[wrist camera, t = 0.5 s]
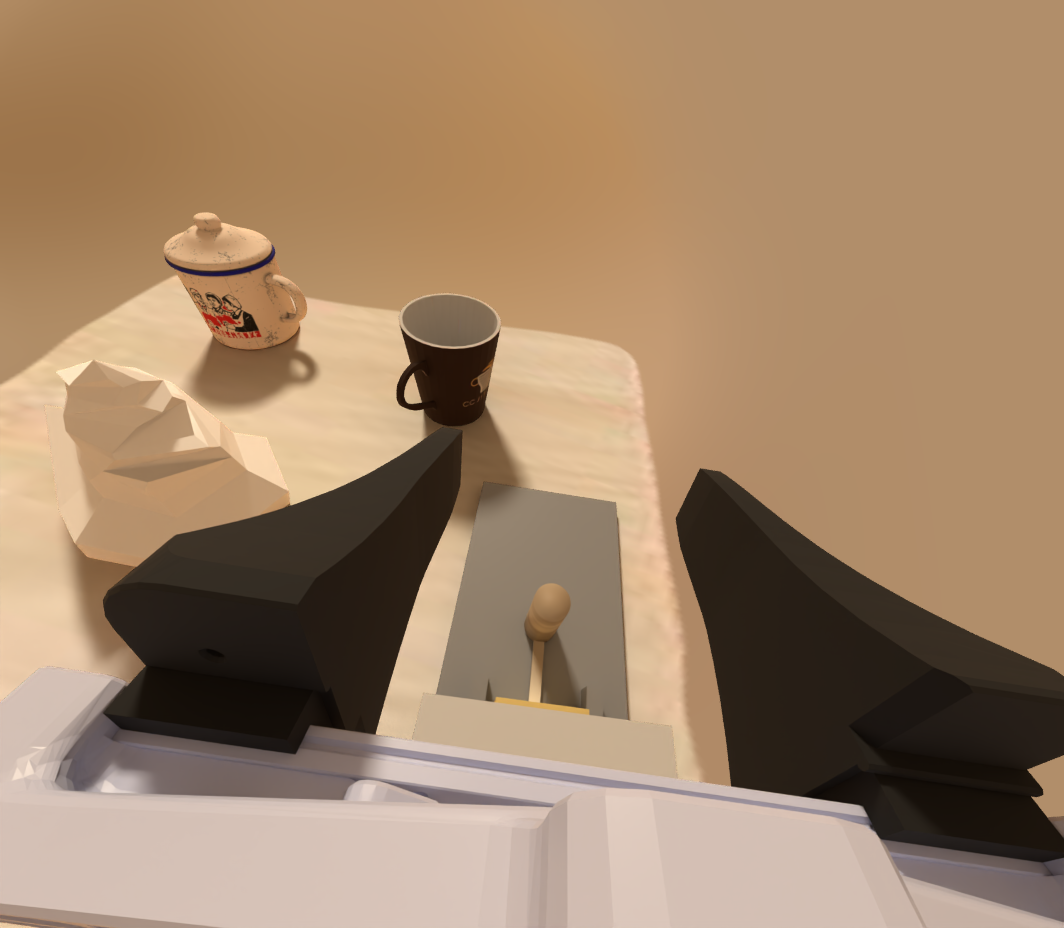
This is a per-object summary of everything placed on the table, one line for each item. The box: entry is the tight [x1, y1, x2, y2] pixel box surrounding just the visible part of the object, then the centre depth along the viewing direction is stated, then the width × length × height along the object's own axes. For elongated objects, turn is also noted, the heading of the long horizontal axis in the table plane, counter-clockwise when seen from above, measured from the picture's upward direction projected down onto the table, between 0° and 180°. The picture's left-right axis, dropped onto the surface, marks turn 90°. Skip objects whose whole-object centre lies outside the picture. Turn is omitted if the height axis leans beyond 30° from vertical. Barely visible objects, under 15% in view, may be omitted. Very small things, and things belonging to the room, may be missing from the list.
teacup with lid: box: [164, 213, 307, 349], centre depth 39 cm, size 12×9×12 cm
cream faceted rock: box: [44, 360, 290, 567], centre depth 25 cm, size 12×15×14 cm
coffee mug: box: [397, 293, 501, 426], centre depth 36 cm, size 12×9×10 cm
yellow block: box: [494, 583, 589, 715], centre depth 21 cm, size 12×5×5 cm, turn 174°
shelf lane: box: [412, 482, 678, 779], centre depth 24 cm, size 24×12×7 cm, turn 174°
